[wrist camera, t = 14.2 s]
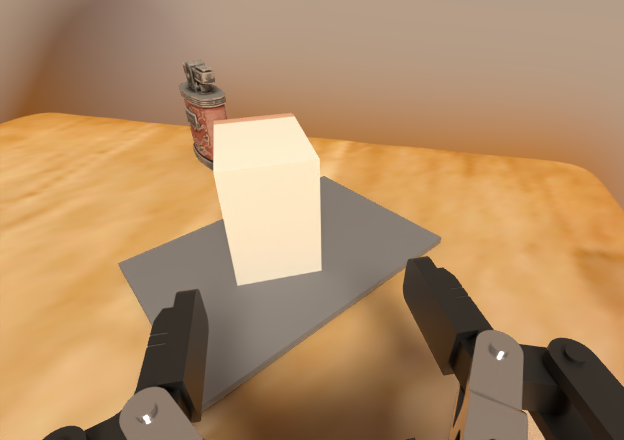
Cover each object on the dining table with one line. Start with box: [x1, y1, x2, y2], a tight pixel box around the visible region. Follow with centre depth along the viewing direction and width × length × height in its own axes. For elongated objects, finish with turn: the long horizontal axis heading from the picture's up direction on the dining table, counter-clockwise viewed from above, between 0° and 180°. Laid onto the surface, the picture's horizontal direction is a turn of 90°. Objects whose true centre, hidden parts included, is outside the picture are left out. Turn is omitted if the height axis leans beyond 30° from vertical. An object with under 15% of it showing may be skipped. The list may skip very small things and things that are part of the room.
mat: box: [118, 176, 441, 413], centre depth 25 cm, size 13×19×1 cm
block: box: [213, 113, 322, 286], centre depth 23 cm, size 8×6×8 cm
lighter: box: [179, 60, 227, 170], centre depth 37 cm, size 8×3×10 cm, turn 34°
